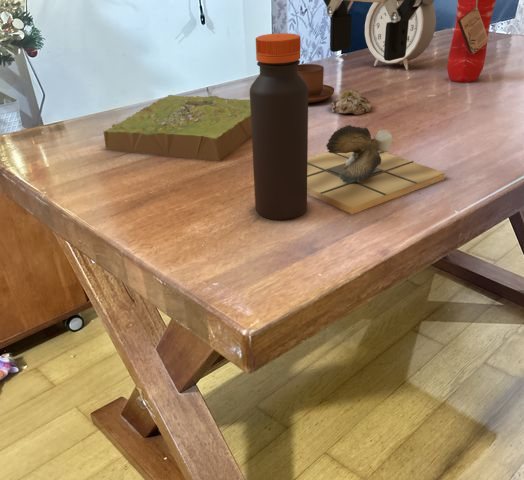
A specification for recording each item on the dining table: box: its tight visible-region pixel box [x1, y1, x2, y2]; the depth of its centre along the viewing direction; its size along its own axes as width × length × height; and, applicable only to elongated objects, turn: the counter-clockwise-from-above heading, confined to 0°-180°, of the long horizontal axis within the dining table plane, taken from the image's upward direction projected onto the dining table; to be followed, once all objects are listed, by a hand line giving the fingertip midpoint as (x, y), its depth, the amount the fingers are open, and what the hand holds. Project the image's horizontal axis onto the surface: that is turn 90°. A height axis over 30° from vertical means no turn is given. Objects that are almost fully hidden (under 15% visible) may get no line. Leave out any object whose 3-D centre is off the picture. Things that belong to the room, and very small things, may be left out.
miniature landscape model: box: [103, 94, 252, 162], centre depth 97 cm, size 22×24×5 cm
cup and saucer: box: [297, 63, 335, 104], centre depth 113 cm, size 12×12×6 cm
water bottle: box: [446, 0, 497, 83], centre depth 114 cm, size 12×8×25 cm, turn 159°
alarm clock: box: [364, 0, 437, 71], centre depth 130 cm, size 16×9×22 cm, turn 49°
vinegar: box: [249, 32, 309, 221], centre depth 65 cm, size 7×7×20 cm
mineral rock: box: [330, 89, 373, 116], centre depth 107 cm, size 11×4×8 cm
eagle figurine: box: [325, 124, 394, 183], centre depth 76 cm, size 8×7×9 cm
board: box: [307, 150, 446, 215], centre depth 79 cm, size 18×18×1 cm
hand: (366, 54), depth 69 cm, fingers open, 9 cm apart
